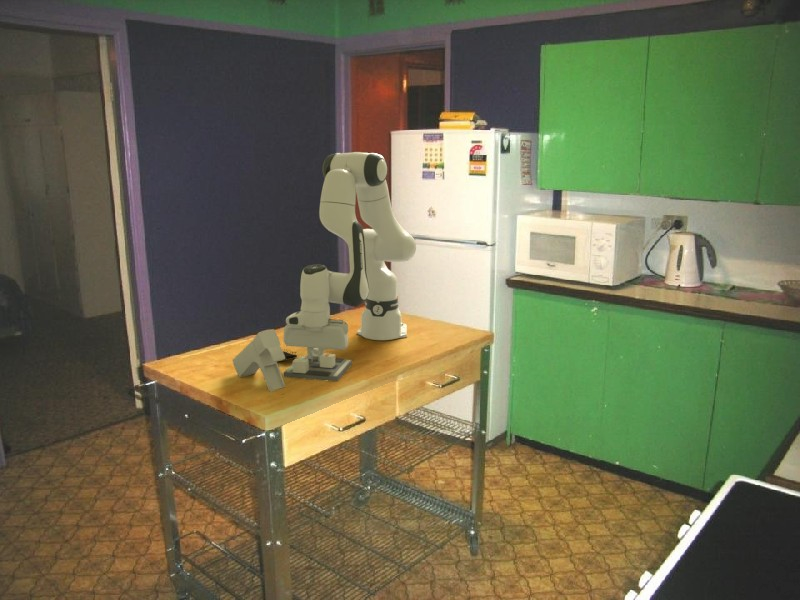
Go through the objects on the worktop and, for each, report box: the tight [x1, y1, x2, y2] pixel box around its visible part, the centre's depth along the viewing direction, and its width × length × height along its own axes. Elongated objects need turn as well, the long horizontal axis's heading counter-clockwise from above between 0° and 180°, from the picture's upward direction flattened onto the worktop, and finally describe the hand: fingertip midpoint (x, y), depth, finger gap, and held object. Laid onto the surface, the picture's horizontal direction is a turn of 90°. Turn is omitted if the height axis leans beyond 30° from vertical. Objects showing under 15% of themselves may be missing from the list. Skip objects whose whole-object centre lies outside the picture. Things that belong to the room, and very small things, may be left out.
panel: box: [283, 355, 353, 382], centre depth 208 cm, size 17×17×2 cm
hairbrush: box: [279, 348, 298, 362], centre depth 223 cm, size 8×4×25 cm
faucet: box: [232, 328, 286, 392], centre depth 196 cm, size 6×16×20 cm
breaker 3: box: [320, 352, 336, 368], centre depth 207 cm, size 3×4×4 cm
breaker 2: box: [306, 348, 320, 359], centre depth 214 cm, size 3×4×4 cm
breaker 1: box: [292, 357, 309, 373], centre depth 202 cm, size 3×4×4 cm
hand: (316, 360), depth 207 cm, fingers closed
